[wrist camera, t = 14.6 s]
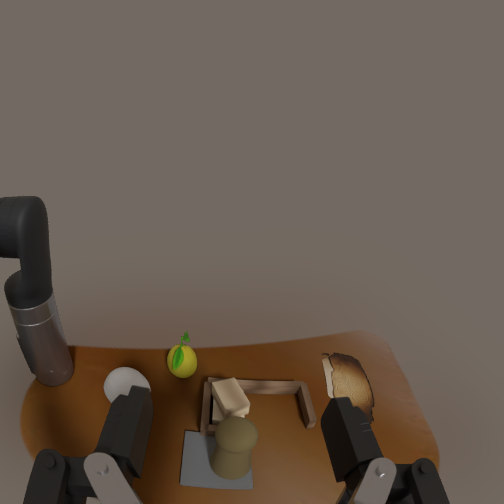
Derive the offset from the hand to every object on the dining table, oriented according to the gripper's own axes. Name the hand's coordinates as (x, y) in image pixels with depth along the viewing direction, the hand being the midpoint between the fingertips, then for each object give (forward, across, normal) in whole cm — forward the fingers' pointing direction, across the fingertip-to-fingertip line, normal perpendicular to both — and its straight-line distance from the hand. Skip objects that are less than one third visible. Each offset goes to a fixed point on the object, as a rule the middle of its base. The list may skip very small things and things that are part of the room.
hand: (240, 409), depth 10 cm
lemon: (+30, +7, +30) cm, 43 cm away
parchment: (+26, -26, +31) cm, 48 cm away
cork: (+10, -2, +30) cm, 31 cm away
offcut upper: (+21, -2, +27) cm, 35 cm away
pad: (+11, 0, +30) cm, 32 cm away
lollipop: (+14, +12, +30) cm, 35 cm away
